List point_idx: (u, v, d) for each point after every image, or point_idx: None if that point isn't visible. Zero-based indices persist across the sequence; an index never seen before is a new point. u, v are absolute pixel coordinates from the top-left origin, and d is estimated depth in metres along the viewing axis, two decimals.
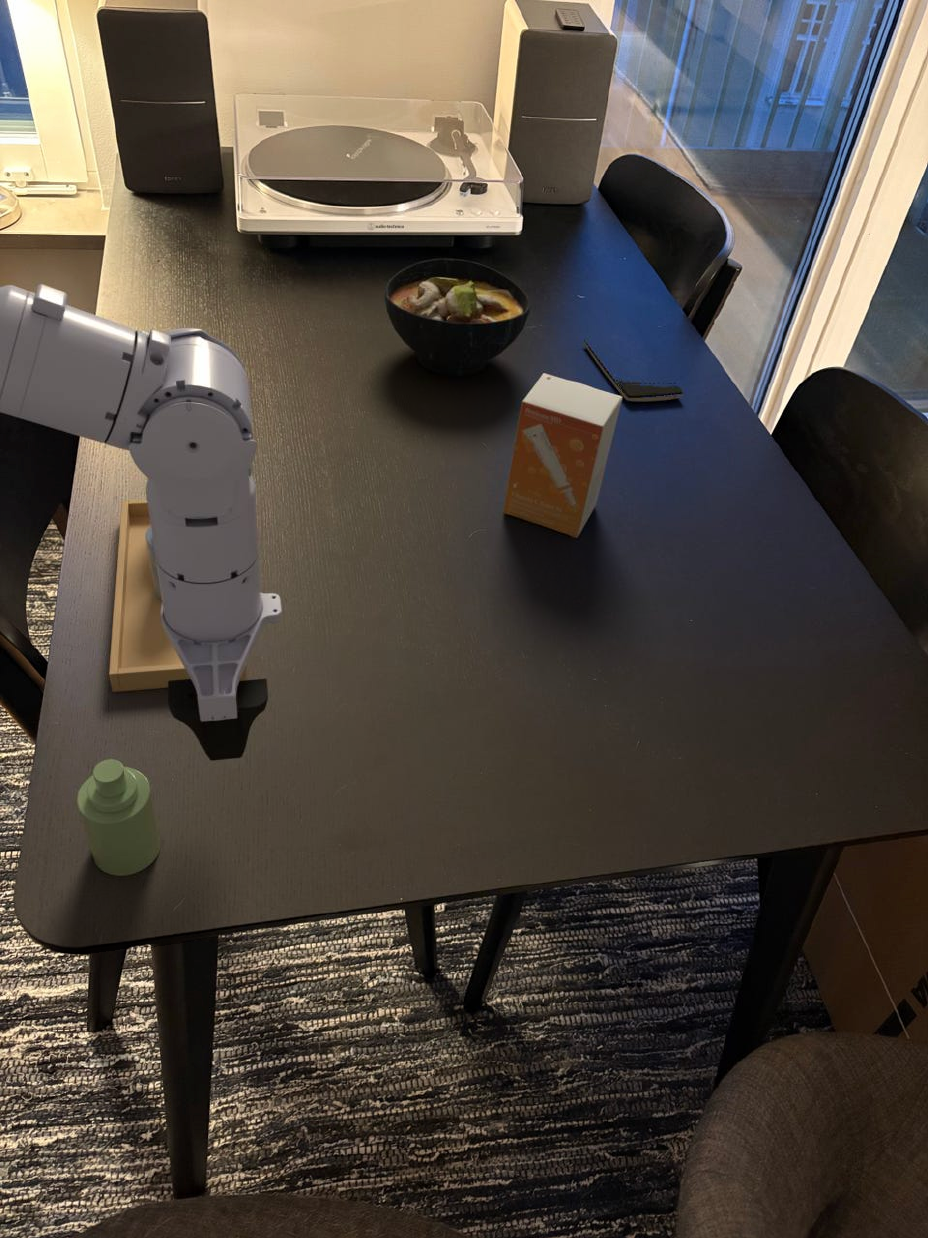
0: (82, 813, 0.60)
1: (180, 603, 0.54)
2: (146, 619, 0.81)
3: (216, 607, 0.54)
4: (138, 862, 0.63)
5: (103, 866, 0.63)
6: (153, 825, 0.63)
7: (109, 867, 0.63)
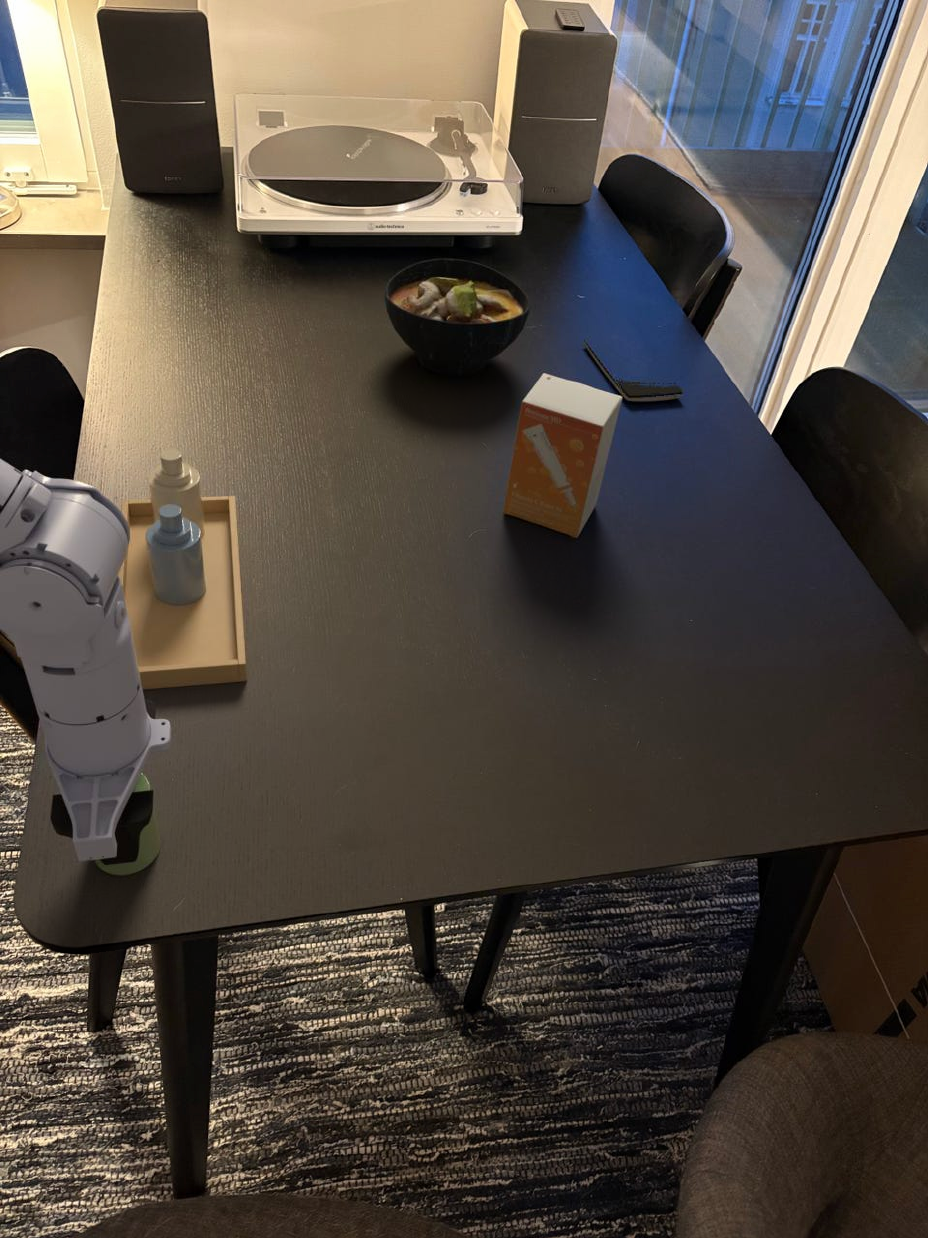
0: None
1: (58, 742, 0.54)
2: (146, 619, 0.81)
3: (95, 745, 0.54)
4: (138, 861, 0.63)
5: (103, 865, 0.63)
6: (153, 825, 0.63)
7: (109, 866, 0.63)
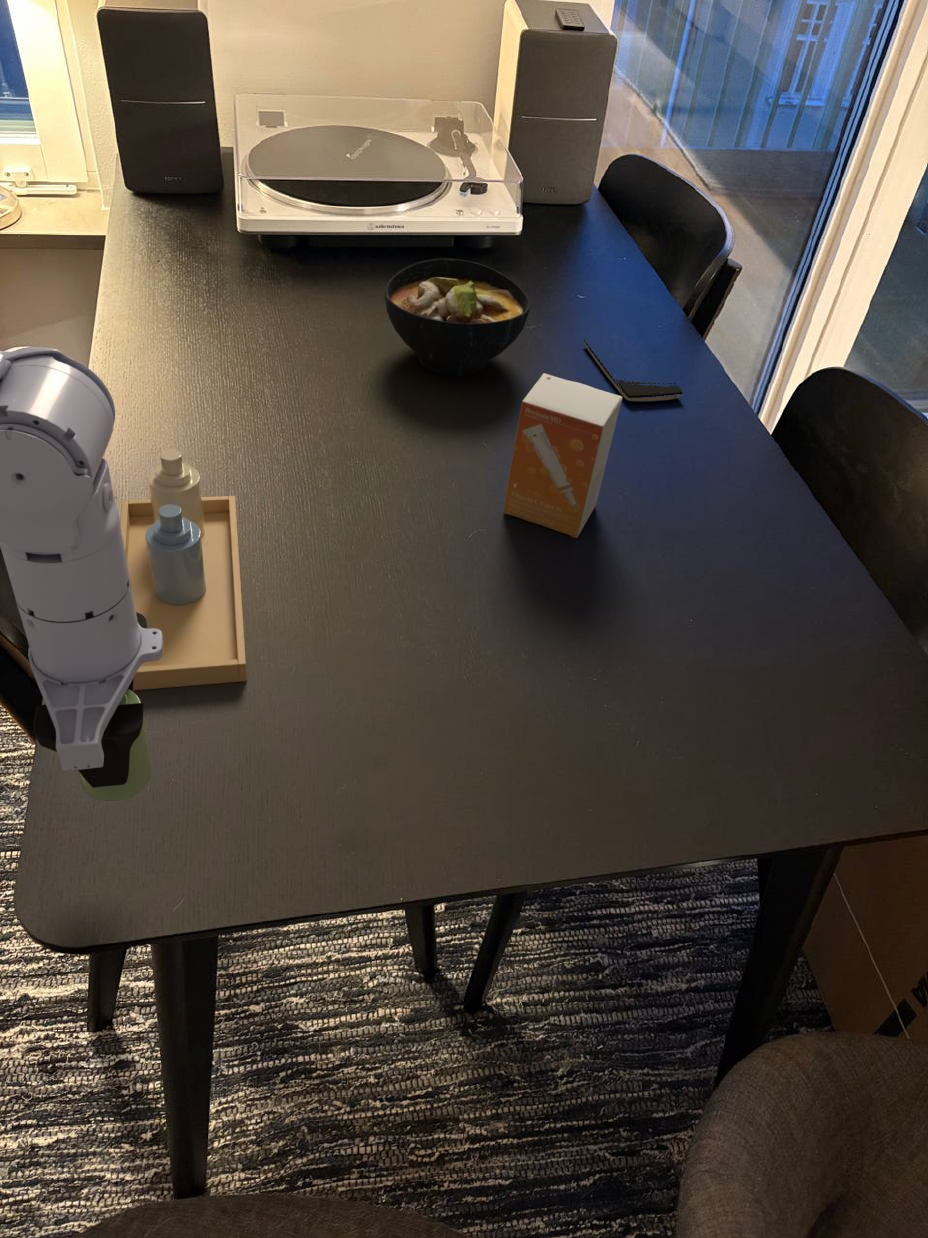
0: None
1: (41, 643, 0.50)
2: (146, 619, 0.81)
3: (80, 646, 0.50)
4: (129, 786, 0.60)
5: (91, 790, 0.60)
6: (144, 747, 0.60)
7: (97, 791, 0.60)
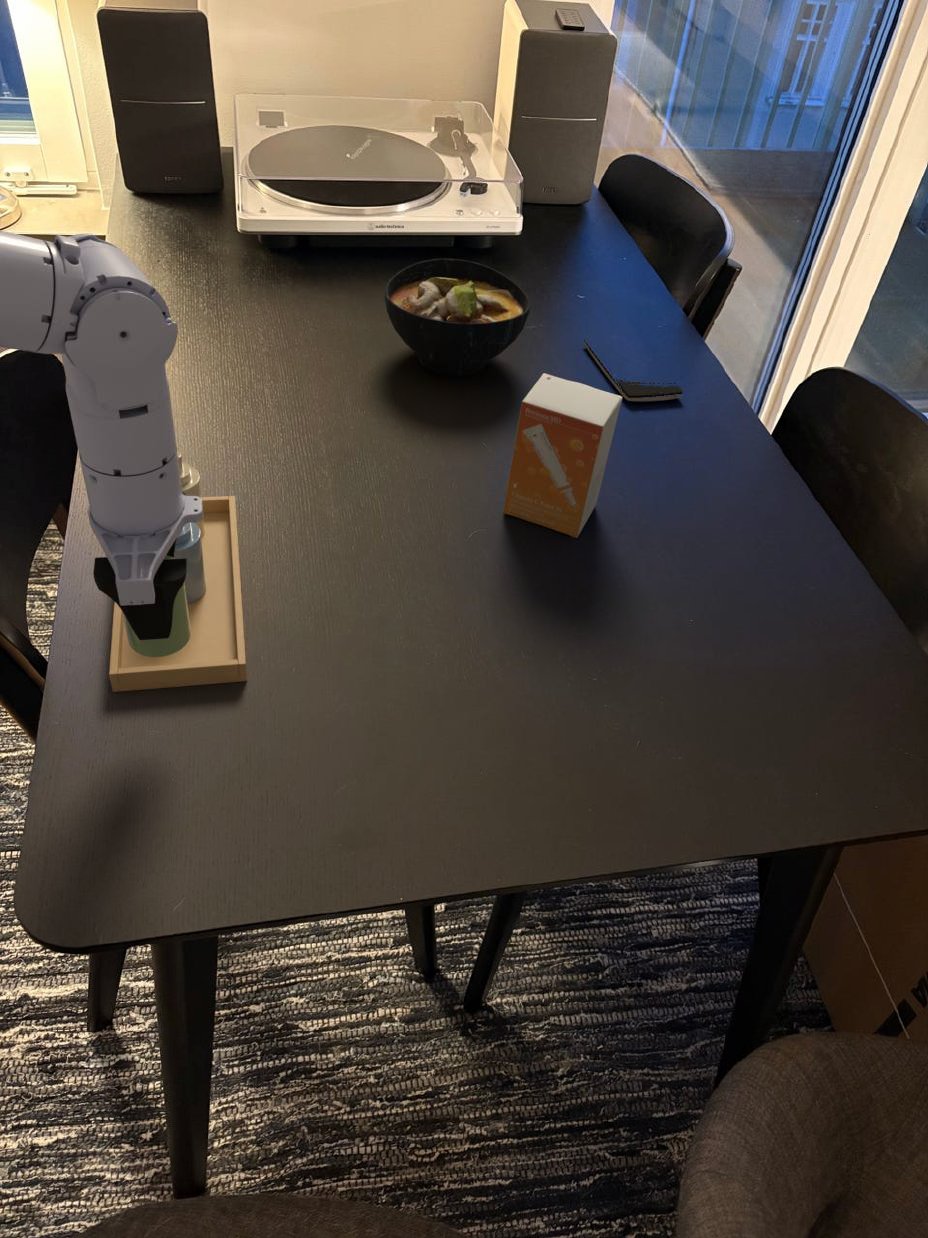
0: None
1: (102, 497, 0.59)
2: None
3: (135, 500, 0.59)
4: (171, 643, 0.68)
5: (138, 646, 0.68)
6: (185, 608, 0.68)
7: (144, 646, 0.68)
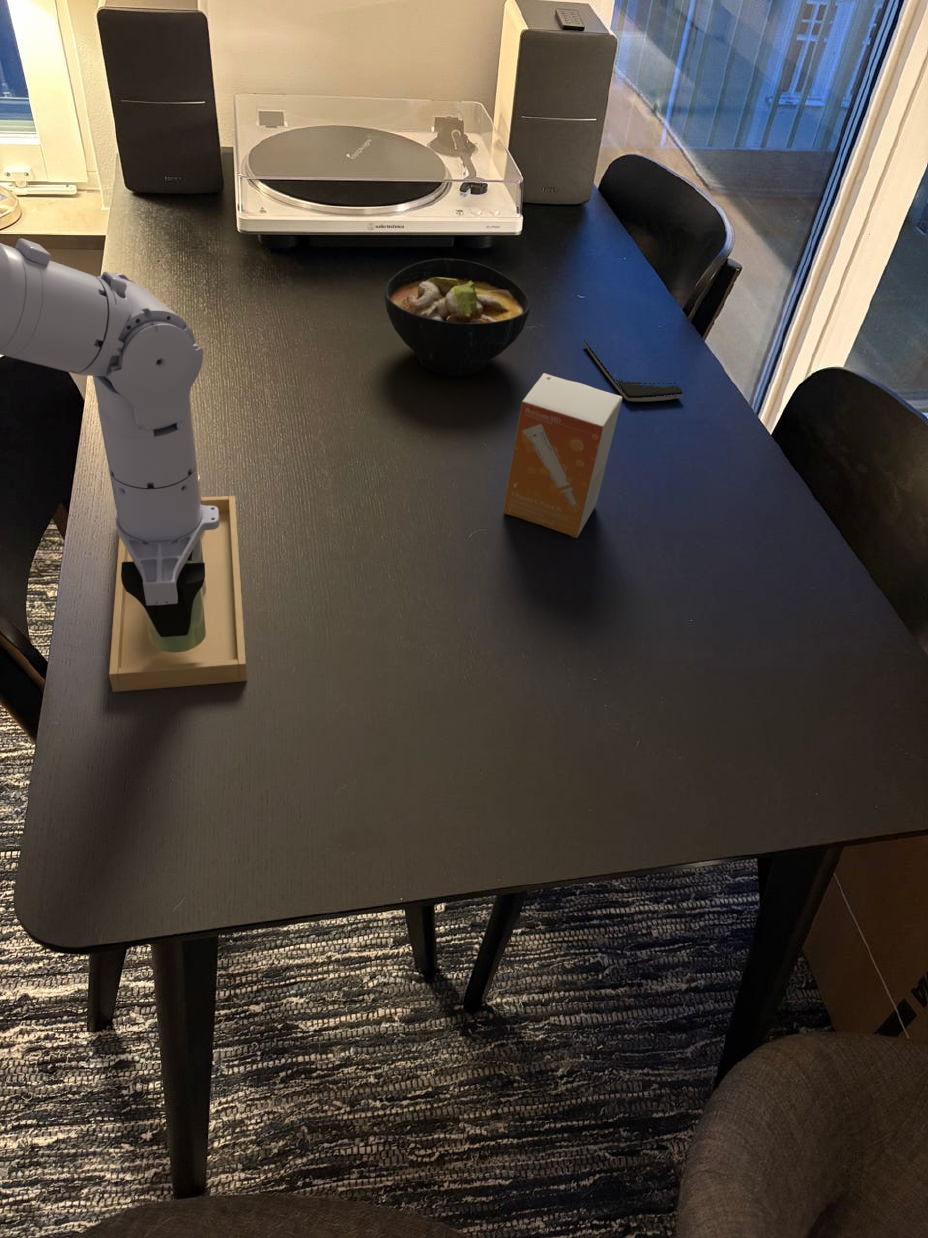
0: None
1: (129, 507, 0.65)
2: None
3: (159, 510, 0.65)
4: (189, 640, 0.75)
5: (159, 642, 0.74)
6: (202, 607, 0.74)
7: (164, 643, 0.74)
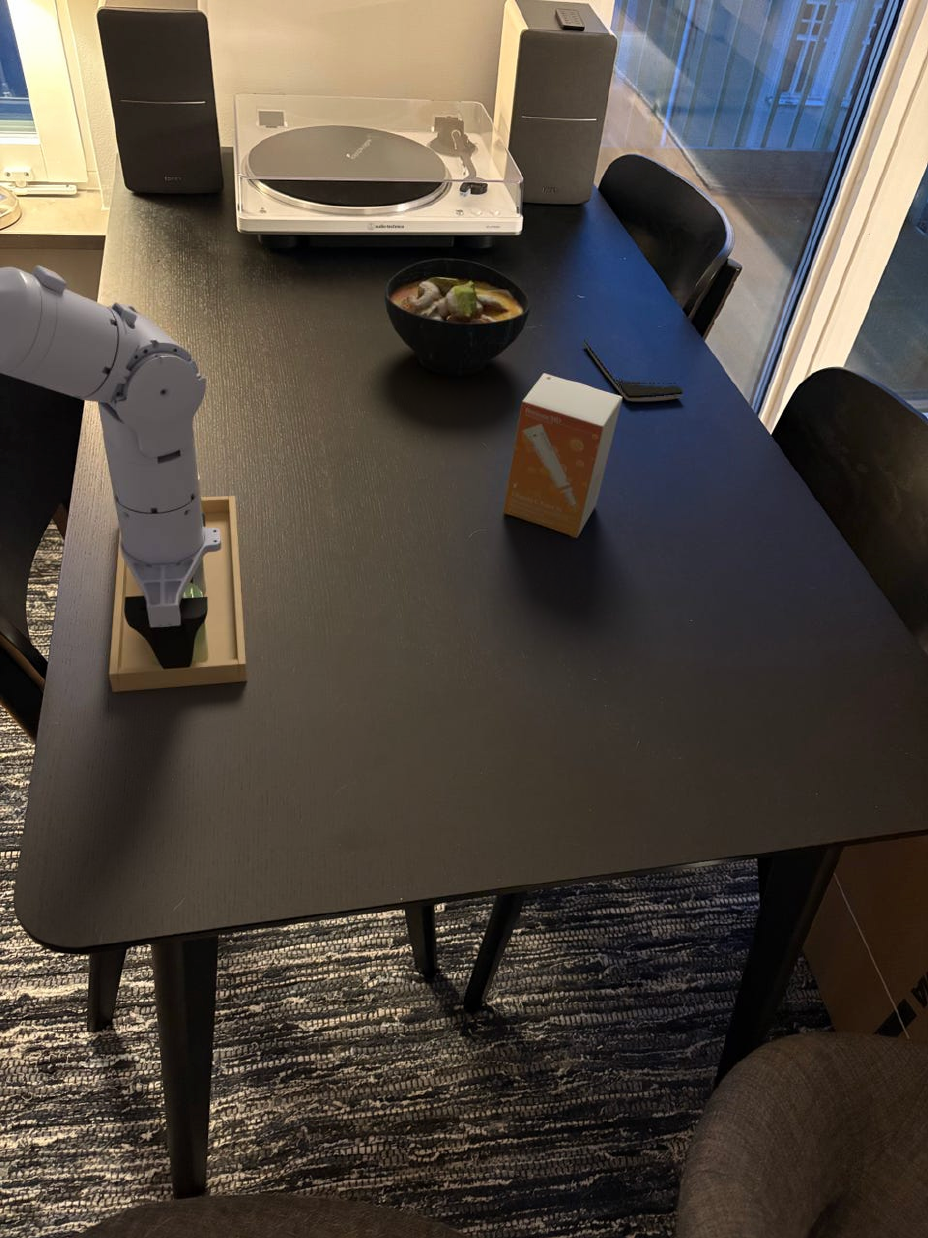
0: None
1: (133, 531, 0.66)
2: None
3: (163, 533, 0.66)
4: (192, 661, 0.76)
5: None
6: (204, 629, 0.76)
7: None
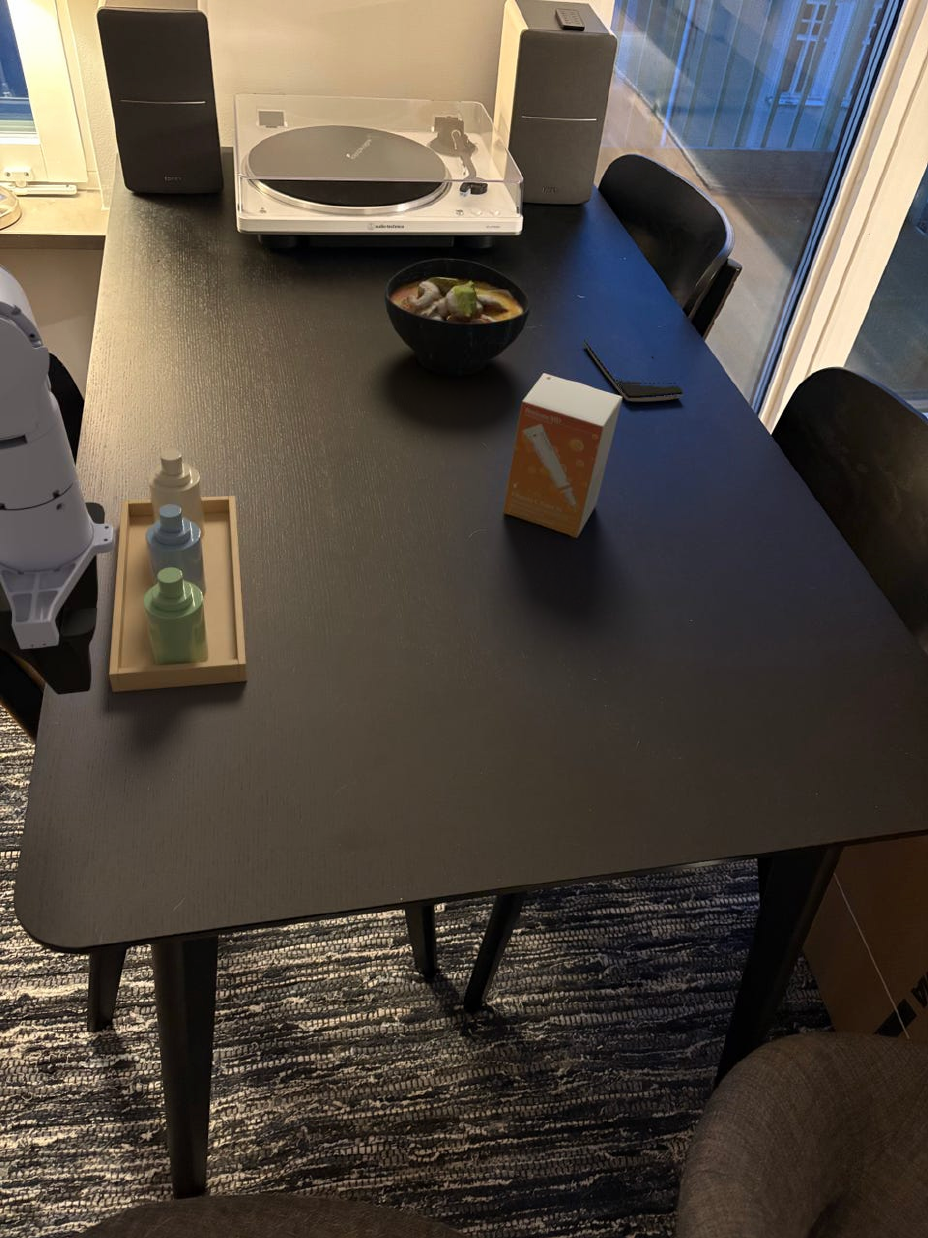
0: (148, 611, 0.73)
1: None
2: None
3: (32, 534, 0.54)
4: (192, 661, 0.76)
5: (162, 663, 0.76)
6: (204, 629, 0.76)
7: (167, 664, 0.76)
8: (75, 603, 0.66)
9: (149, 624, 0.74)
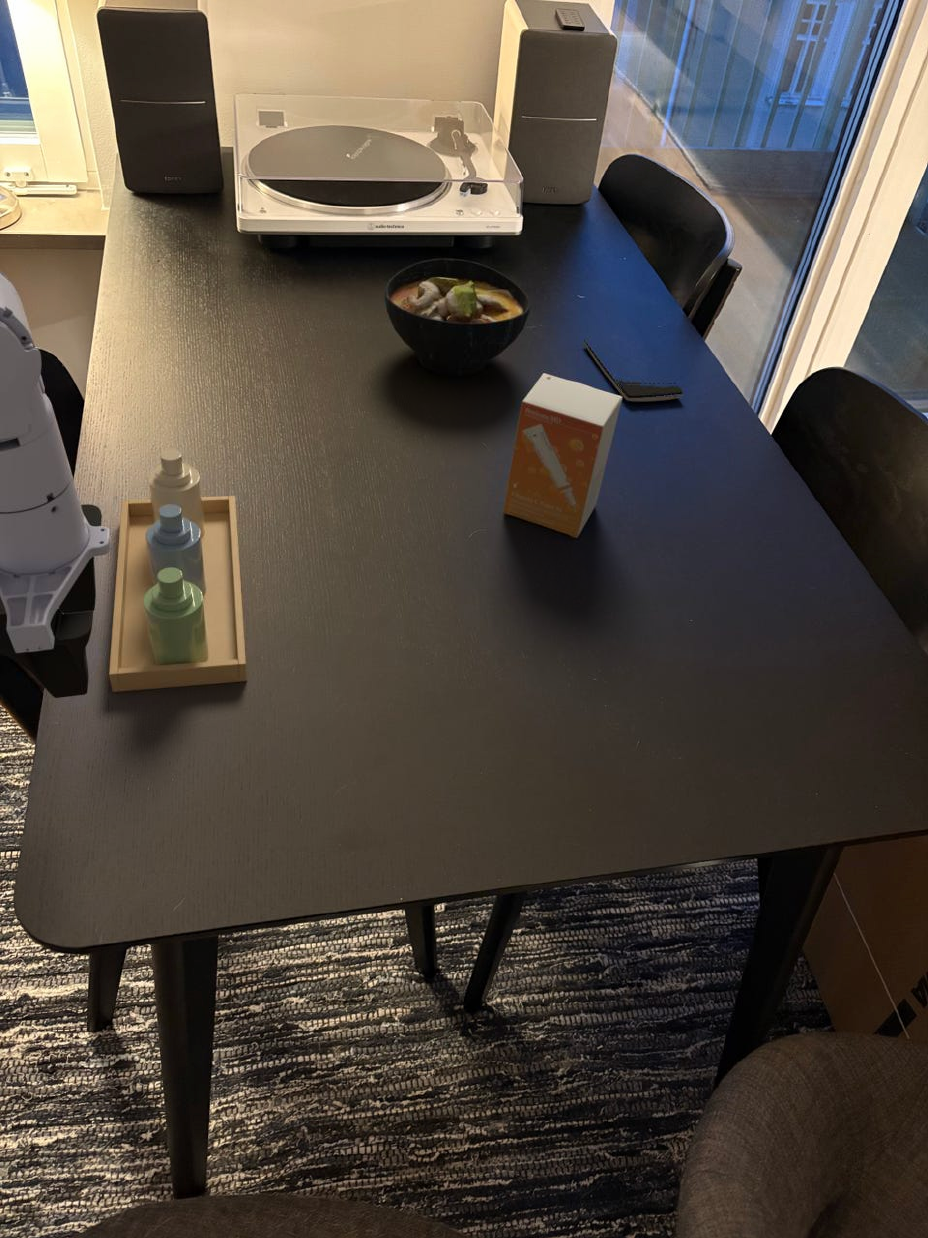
0: (148, 611, 0.73)
1: None
2: None
3: (26, 537, 0.54)
4: (192, 661, 0.76)
5: (162, 663, 0.76)
6: (204, 629, 0.76)
7: (167, 664, 0.76)
8: (73, 606, 0.66)
9: (149, 624, 0.74)
